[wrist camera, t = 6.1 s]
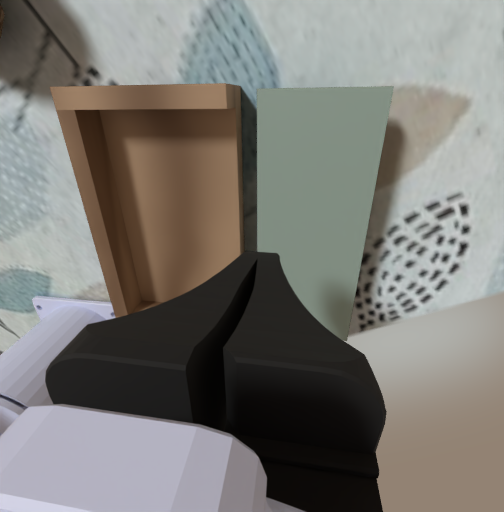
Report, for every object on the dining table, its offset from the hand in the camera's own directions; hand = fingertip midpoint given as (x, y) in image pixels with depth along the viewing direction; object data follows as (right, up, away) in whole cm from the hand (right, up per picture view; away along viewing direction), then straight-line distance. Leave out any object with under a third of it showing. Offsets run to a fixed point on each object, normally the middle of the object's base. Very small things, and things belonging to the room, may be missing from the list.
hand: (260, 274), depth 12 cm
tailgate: (0, +3, +7) cm, 7 cm away
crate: (-5, +4, +9) cm, 11 cm away
